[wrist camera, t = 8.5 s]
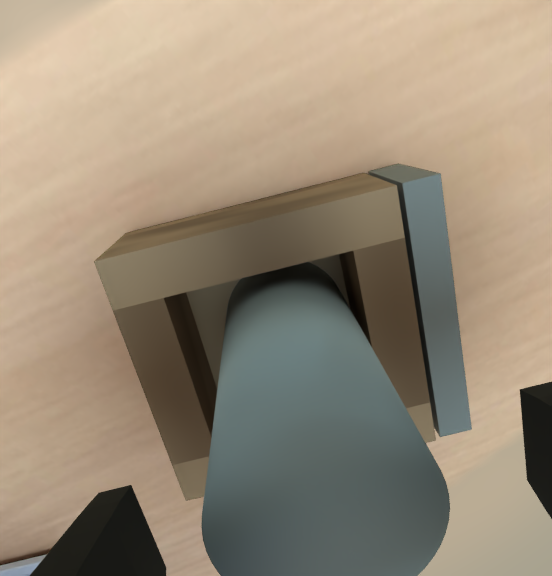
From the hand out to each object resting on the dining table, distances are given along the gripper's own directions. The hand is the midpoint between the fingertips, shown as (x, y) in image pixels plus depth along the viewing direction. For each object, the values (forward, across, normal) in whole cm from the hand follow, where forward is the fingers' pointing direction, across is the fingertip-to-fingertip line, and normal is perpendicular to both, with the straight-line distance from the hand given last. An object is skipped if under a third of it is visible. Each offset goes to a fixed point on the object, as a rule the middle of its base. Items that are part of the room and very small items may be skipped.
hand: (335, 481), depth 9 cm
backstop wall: (+9, -4, 0) cm, 10 cm away
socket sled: (+9, +1, 0) cm, 9 cm away
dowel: (+8, 0, 0) cm, 8 cm away
